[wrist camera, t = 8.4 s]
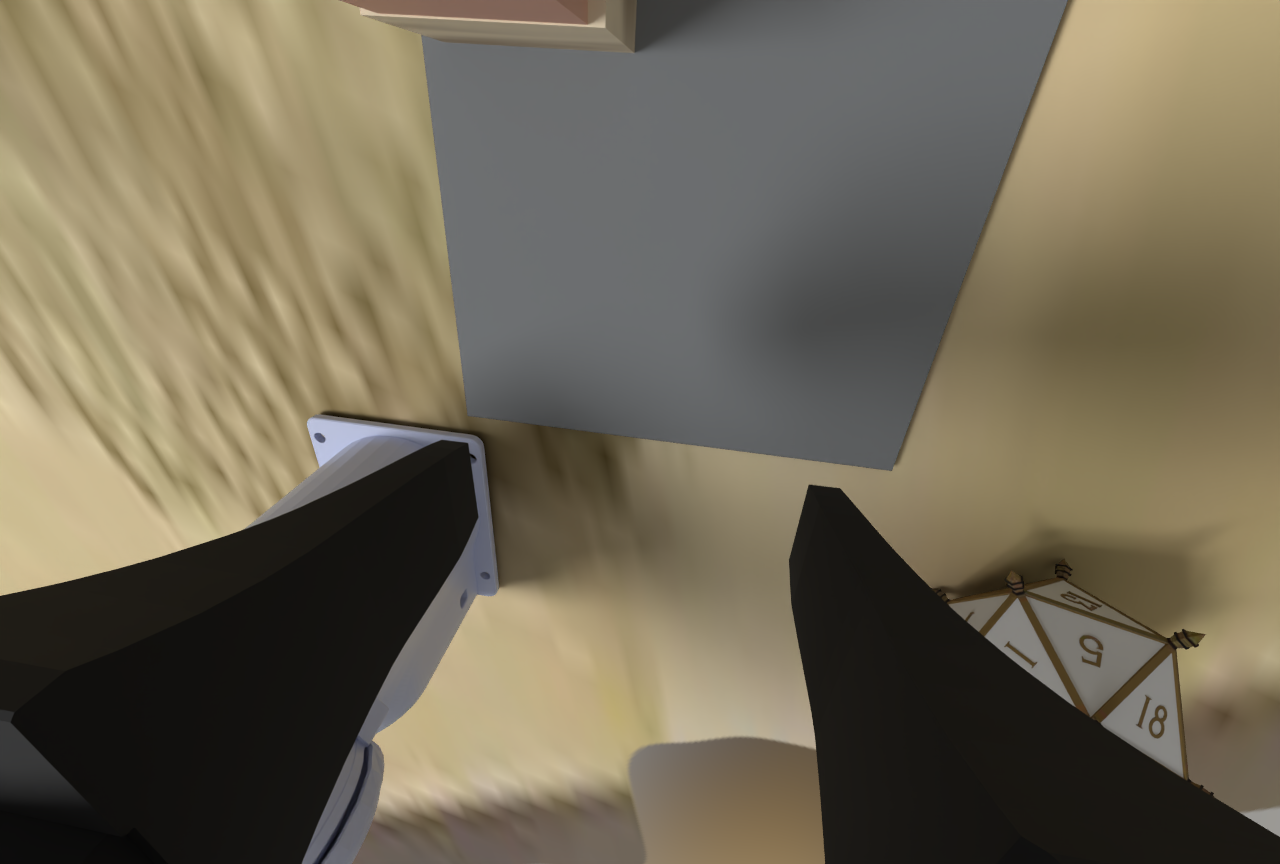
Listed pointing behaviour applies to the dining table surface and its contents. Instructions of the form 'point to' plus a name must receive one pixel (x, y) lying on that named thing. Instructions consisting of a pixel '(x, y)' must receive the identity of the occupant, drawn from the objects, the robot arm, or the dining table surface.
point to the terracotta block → (485, 9)
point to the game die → (1091, 658)
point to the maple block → (531, 29)
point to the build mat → (728, 215)
